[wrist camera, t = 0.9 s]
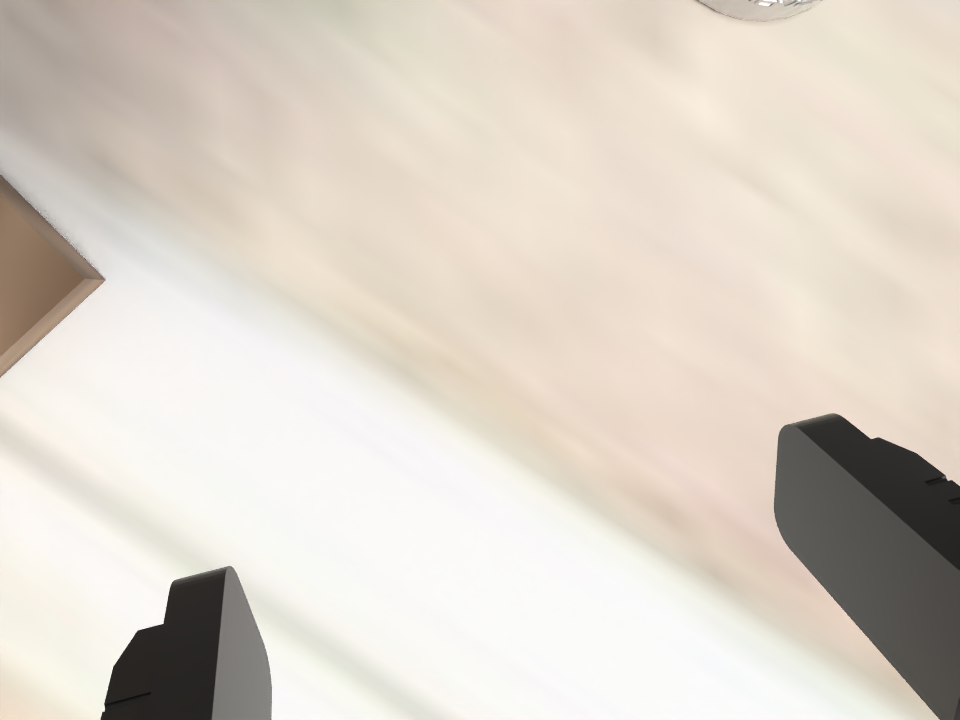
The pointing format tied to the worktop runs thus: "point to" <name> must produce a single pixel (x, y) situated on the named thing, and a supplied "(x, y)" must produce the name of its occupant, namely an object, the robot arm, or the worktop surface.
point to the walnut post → (35, 277)
